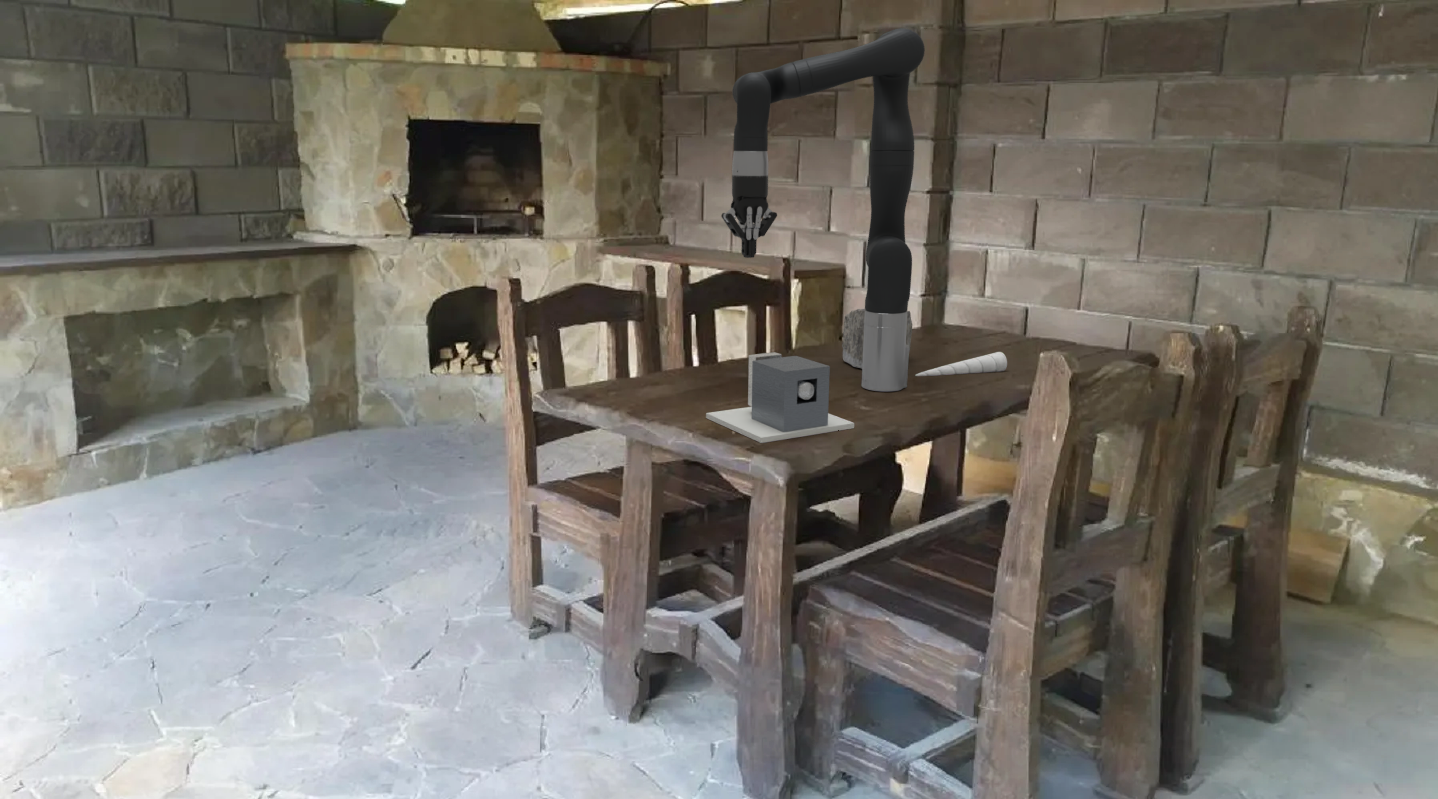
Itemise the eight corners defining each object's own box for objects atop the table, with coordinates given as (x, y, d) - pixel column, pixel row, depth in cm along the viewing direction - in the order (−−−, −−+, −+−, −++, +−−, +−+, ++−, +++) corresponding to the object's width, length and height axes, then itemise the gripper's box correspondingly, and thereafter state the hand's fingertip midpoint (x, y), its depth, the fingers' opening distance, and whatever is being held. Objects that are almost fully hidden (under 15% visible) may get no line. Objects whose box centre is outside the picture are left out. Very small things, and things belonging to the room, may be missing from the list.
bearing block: (794, 412, 203) (795, 355, 201) (827, 425, 194) (829, 366, 191) (751, 418, 198) (752, 360, 196) (783, 432, 189) (785, 371, 186)
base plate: (794, 405, 213) (794, 400, 213) (854, 428, 196) (854, 423, 196) (705, 418, 203) (705, 413, 202) (761, 443, 186) (761, 437, 186)
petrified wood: (887, 354, 267) (890, 296, 263) (931, 366, 252) (934, 305, 248) (827, 360, 258) (829, 301, 254) (868, 374, 243) (871, 311, 240)
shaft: (773, 401, 206) (774, 352, 203) (819, 419, 193) (821, 366, 190) (748, 405, 203) (748, 355, 200) (792, 423, 190) (794, 370, 187)
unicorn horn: (907, 374, 245) (908, 354, 244) (997, 369, 251) (998, 350, 250) (916, 378, 240) (917, 358, 239) (1007, 373, 247) (1009, 353, 245)
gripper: (732, 174, 208) (731, 260, 212) (786, 174, 215) (784, 257, 219) (713, 173, 214) (713, 257, 218) (766, 173, 221) (765, 254, 225)
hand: (748, 257), depth 219 cm, fingers closed
